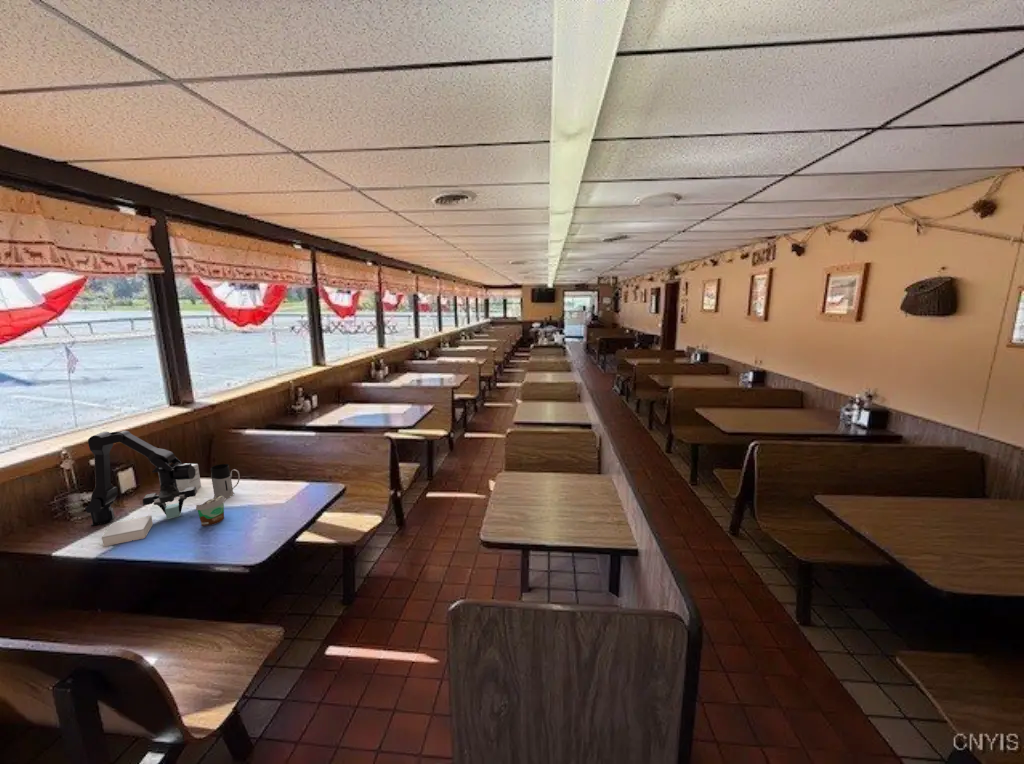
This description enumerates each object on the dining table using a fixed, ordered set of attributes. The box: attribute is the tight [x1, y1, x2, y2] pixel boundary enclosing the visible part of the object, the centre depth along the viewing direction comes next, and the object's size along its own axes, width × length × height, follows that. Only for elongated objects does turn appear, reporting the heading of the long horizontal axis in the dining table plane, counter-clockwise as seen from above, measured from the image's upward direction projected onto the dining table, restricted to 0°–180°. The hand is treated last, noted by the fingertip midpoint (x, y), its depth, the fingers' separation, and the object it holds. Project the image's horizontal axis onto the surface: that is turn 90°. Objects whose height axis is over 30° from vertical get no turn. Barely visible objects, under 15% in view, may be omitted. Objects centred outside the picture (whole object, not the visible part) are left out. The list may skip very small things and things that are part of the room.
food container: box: [195, 494, 226, 527], centre depth 196 cm, size 12×6×10 cm, turn 168°
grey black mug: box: [210, 463, 241, 499], centre depth 221 cm, size 9×14×15 cm, turn 82°
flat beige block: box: [101, 515, 154, 547], centre depth 187 cm, size 13×13×4 cm
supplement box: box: [176, 463, 202, 491], centre depth 231 cm, size 7×7×13 cm
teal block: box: [164, 502, 182, 520], centre depth 203 cm, size 5×5×5 cm
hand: (173, 513), depth 203 cm, fingers closed on teal block, 5 cm apart
